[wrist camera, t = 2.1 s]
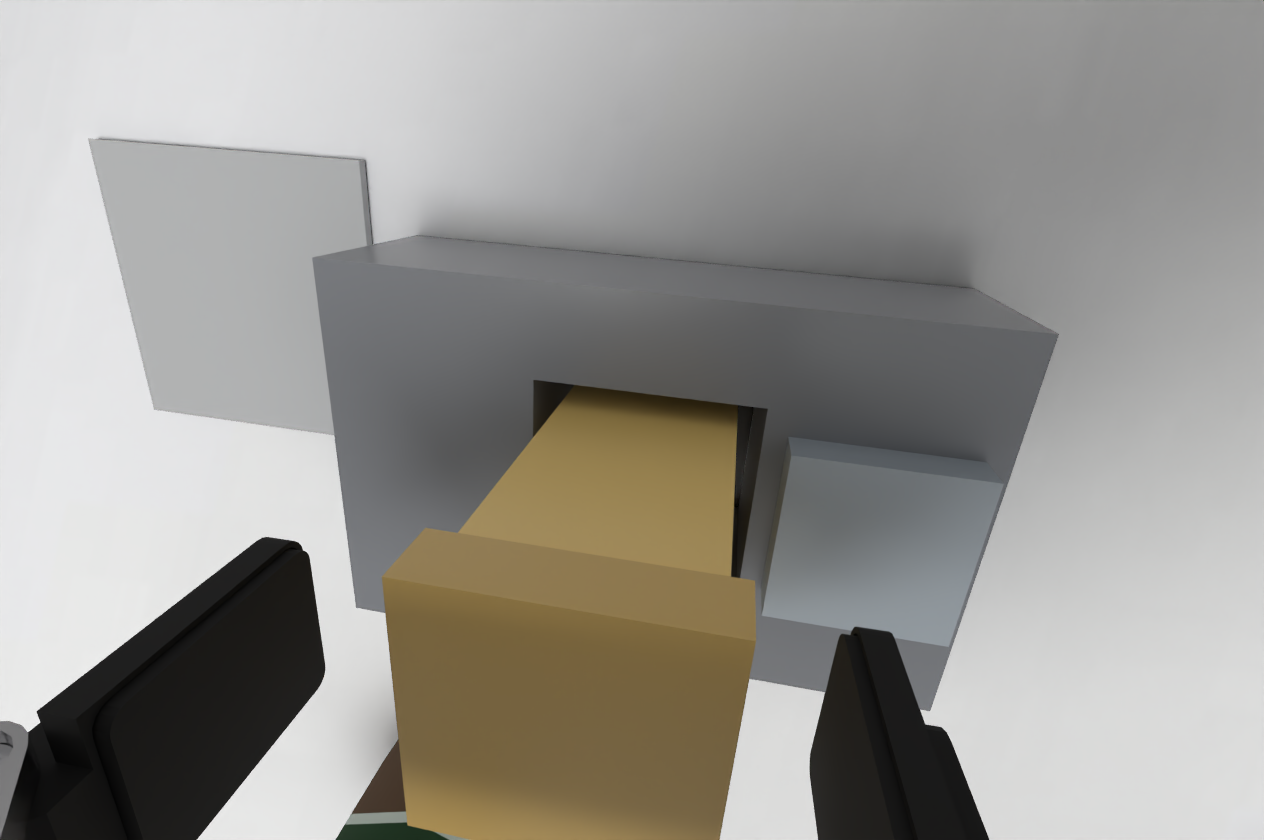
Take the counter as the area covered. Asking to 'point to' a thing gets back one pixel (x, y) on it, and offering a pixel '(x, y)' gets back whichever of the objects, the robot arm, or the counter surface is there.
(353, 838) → the beer bottle
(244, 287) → the mat
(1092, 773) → the counter surface
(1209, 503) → the counter surface
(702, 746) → the plug
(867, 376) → the grey block with hole
